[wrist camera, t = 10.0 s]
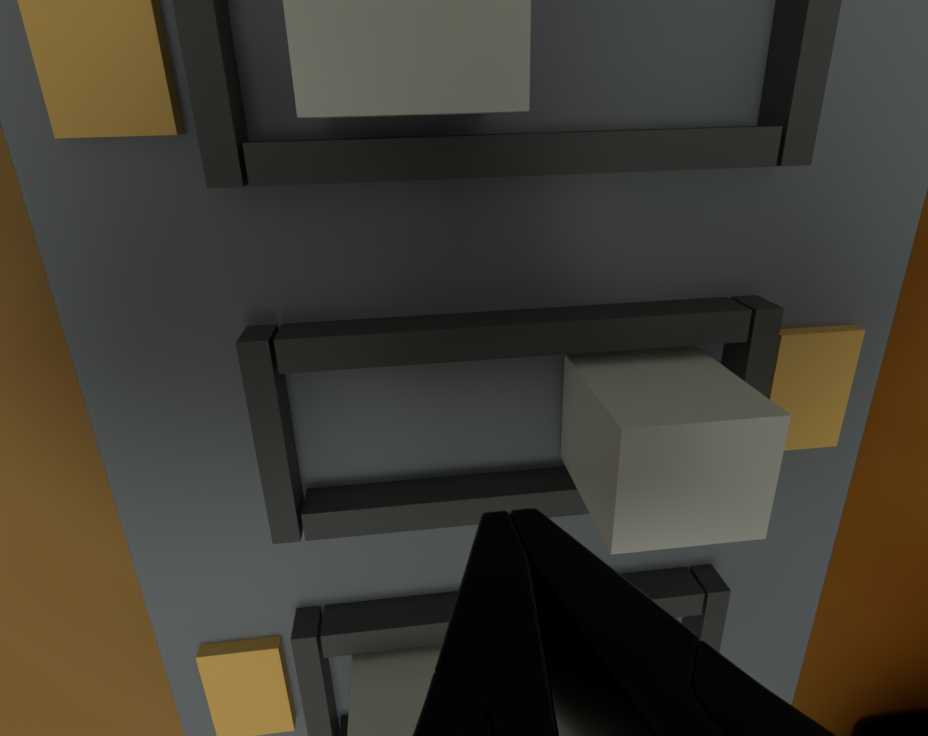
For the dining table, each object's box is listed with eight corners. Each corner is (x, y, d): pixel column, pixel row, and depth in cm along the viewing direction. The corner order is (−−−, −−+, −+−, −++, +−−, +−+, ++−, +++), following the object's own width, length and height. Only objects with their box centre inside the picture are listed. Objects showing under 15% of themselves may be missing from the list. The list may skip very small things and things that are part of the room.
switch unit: (940, -188, 12) (1106, -279, 9) (754, 659, 21) (810, 742, 18) (-30, -212, 10) (-186, -334, 7) (219, 726, 19) (191, 828, 16)
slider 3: (694, 344, 13) (790, 415, 10) (681, 445, 14) (765, 538, 11) (564, 353, 13) (621, 429, 10) (560, 455, 14) (611, 554, 11)
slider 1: (487, -54, 10) (532, -134, 7) (488, 113, 11) (529, 110, 8) (305, -54, 10) (266, -139, 7) (324, 118, 11) (297, 117, 8)
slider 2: (468, 623, 16) (488, 751, 13) (470, 693, 17) (489, 828, 14) (353, 636, 16) (344, 771, 12) (363, 707, 17) (356, 848, 13)
